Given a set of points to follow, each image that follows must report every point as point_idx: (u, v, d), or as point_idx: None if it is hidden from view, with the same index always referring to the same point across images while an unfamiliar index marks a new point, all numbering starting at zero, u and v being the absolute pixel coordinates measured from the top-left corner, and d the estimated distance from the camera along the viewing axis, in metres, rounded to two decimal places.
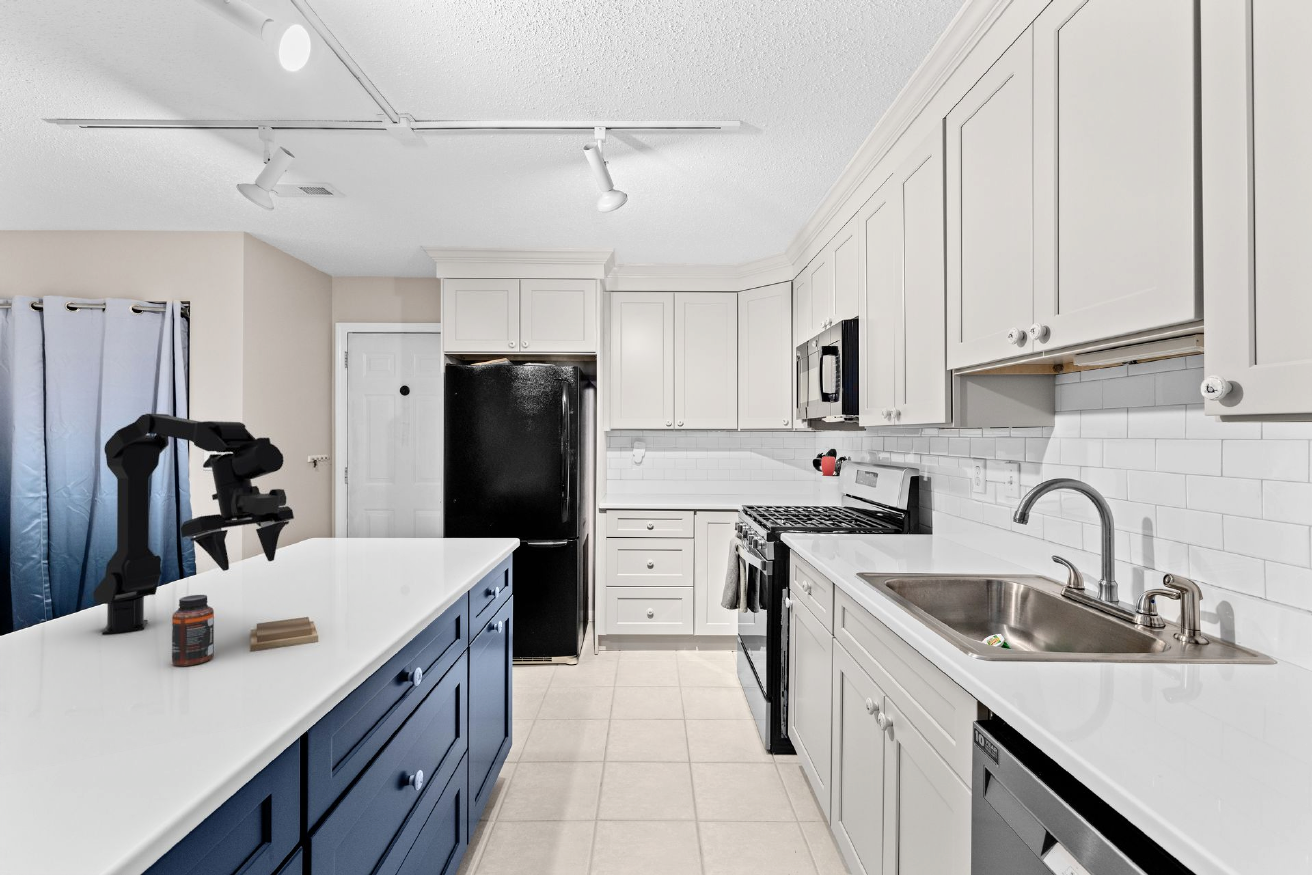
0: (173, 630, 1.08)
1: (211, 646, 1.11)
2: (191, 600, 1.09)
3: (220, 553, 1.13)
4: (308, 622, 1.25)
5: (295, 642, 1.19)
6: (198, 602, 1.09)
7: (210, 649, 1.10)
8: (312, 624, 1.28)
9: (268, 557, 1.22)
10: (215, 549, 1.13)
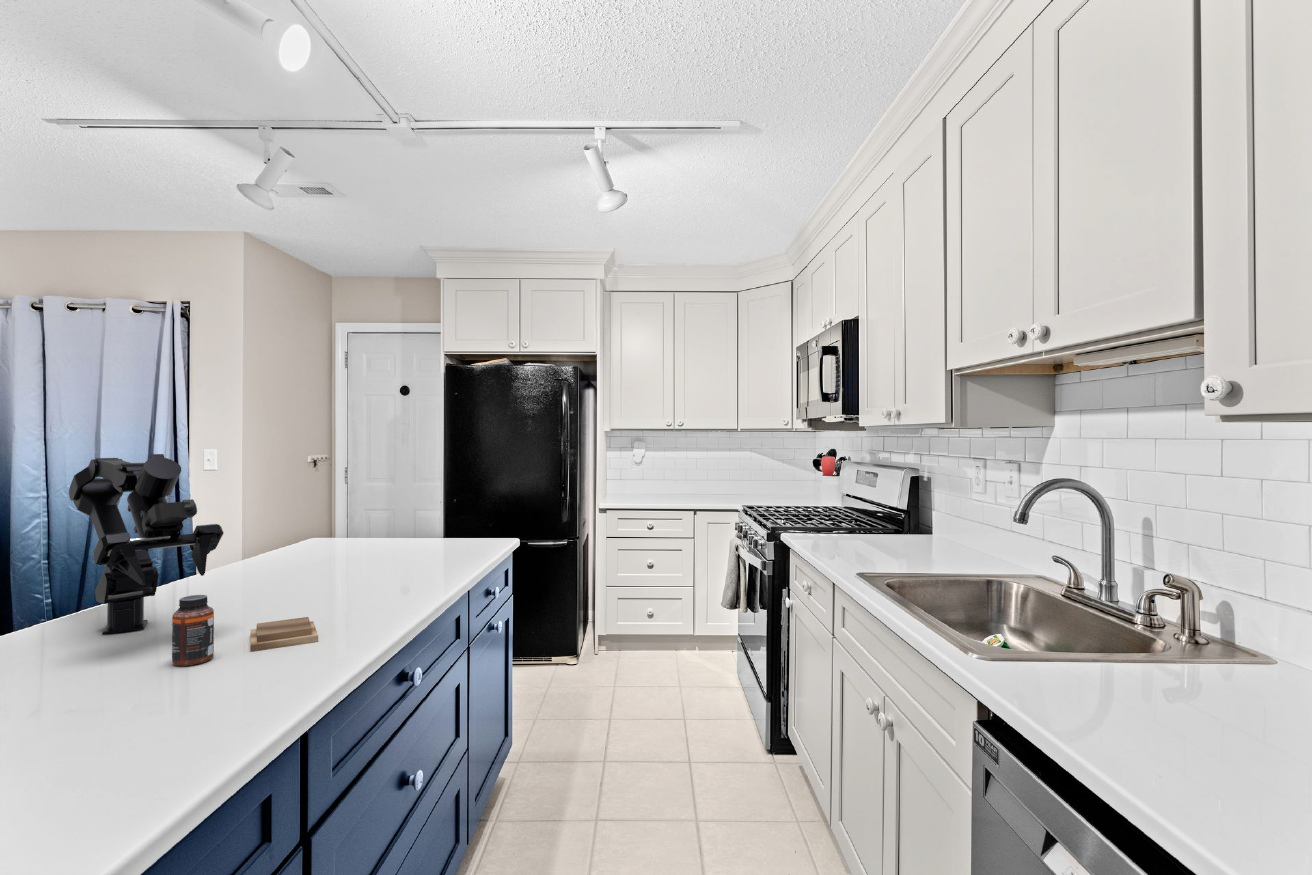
0: (173, 630, 1.08)
1: (211, 646, 1.11)
2: (191, 600, 1.09)
3: (132, 567, 1.11)
4: (308, 622, 1.25)
5: (295, 642, 1.19)
6: (198, 602, 1.09)
7: (210, 649, 1.10)
8: (312, 624, 1.28)
9: (200, 572, 1.19)
10: (129, 566, 1.12)
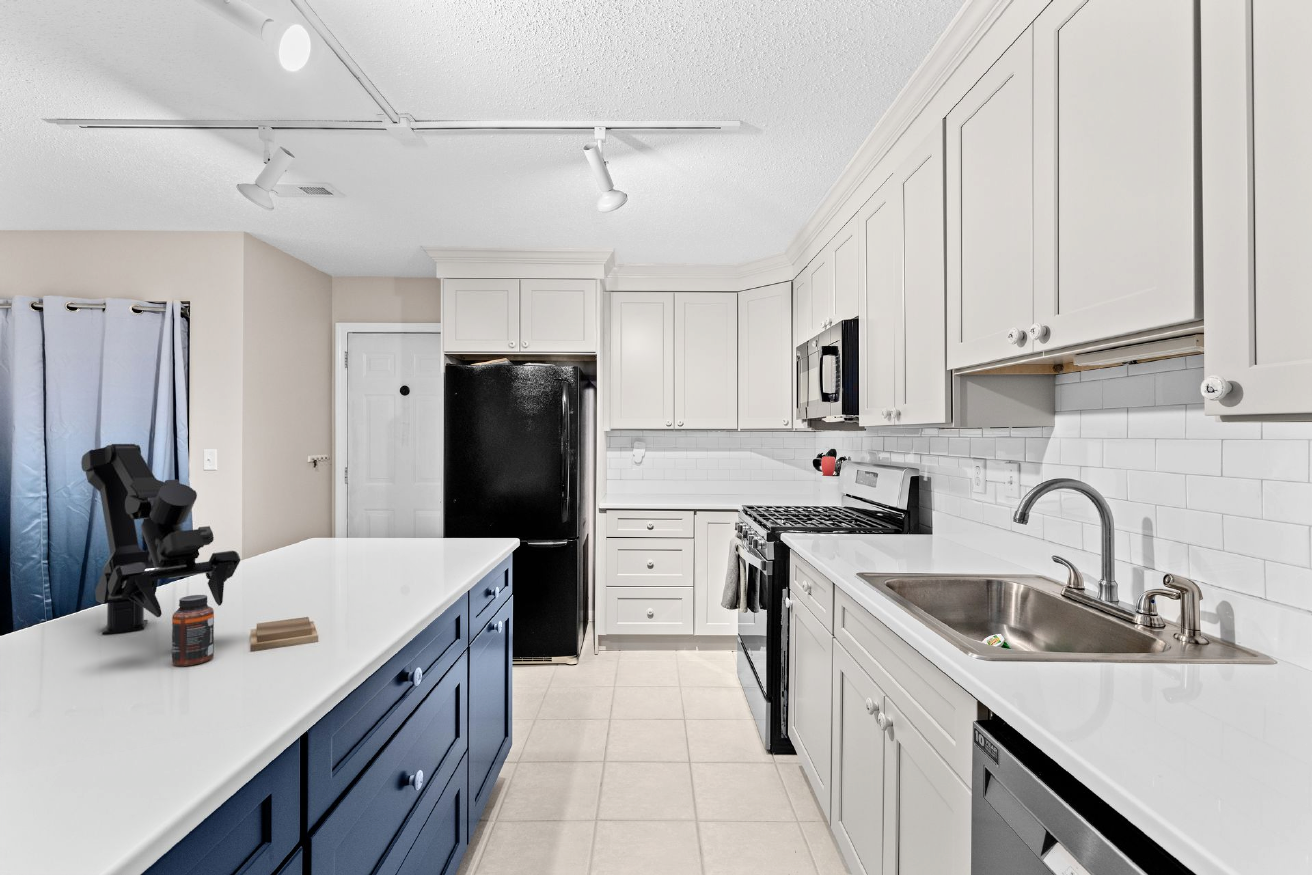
0: (173, 630, 1.08)
1: (211, 646, 1.11)
2: (191, 600, 1.09)
3: (148, 599, 1.07)
4: (308, 622, 1.25)
5: (295, 642, 1.19)
6: (198, 602, 1.09)
7: (210, 649, 1.10)
8: (312, 624, 1.28)
9: (217, 601, 1.15)
10: (144, 598, 1.08)
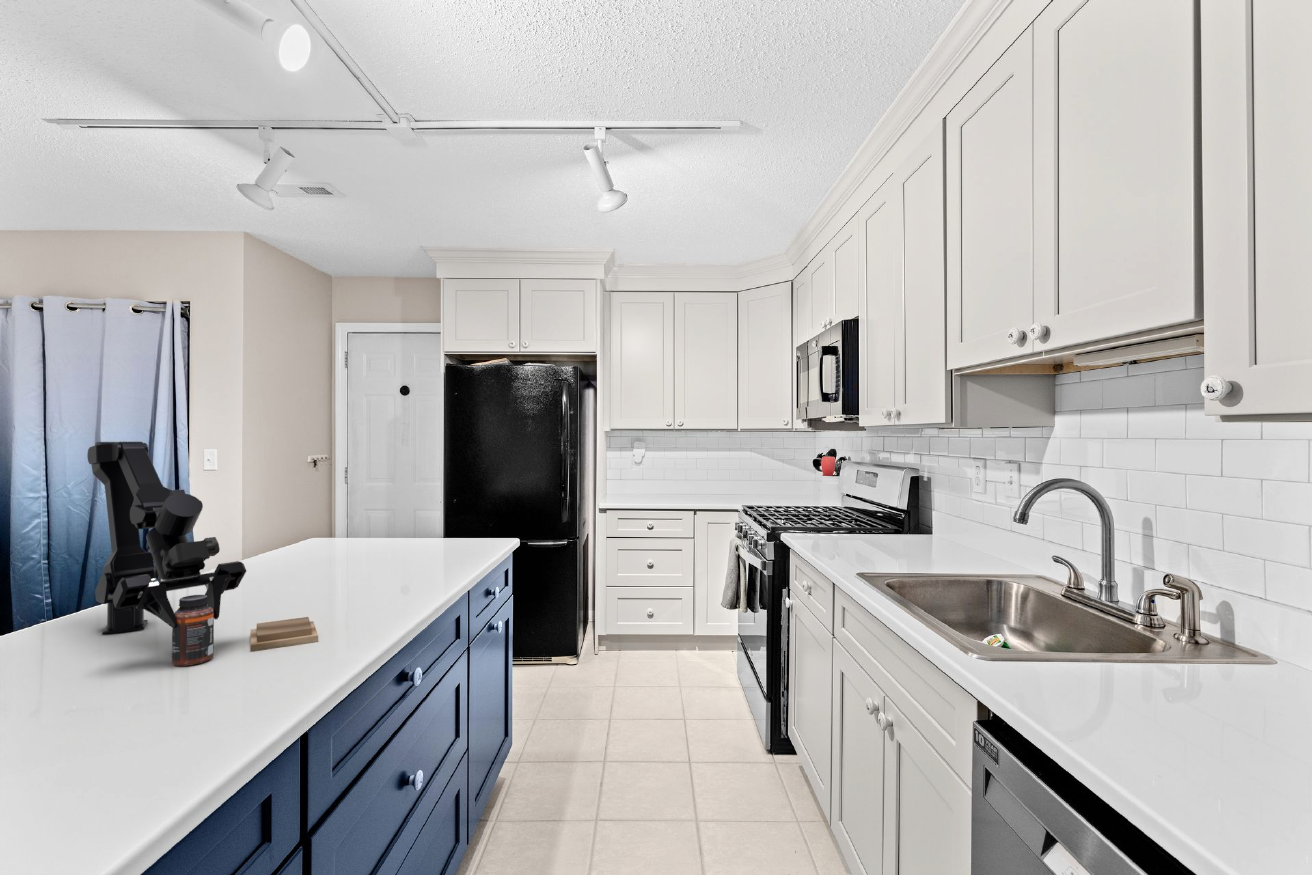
0: (173, 630, 1.08)
1: (211, 646, 1.11)
2: (191, 600, 1.09)
3: (164, 609, 1.07)
4: (308, 622, 1.25)
5: (295, 642, 1.19)
6: (198, 602, 1.09)
7: (210, 649, 1.10)
8: (312, 624, 1.28)
9: (214, 615, 1.12)
10: (160, 608, 1.08)
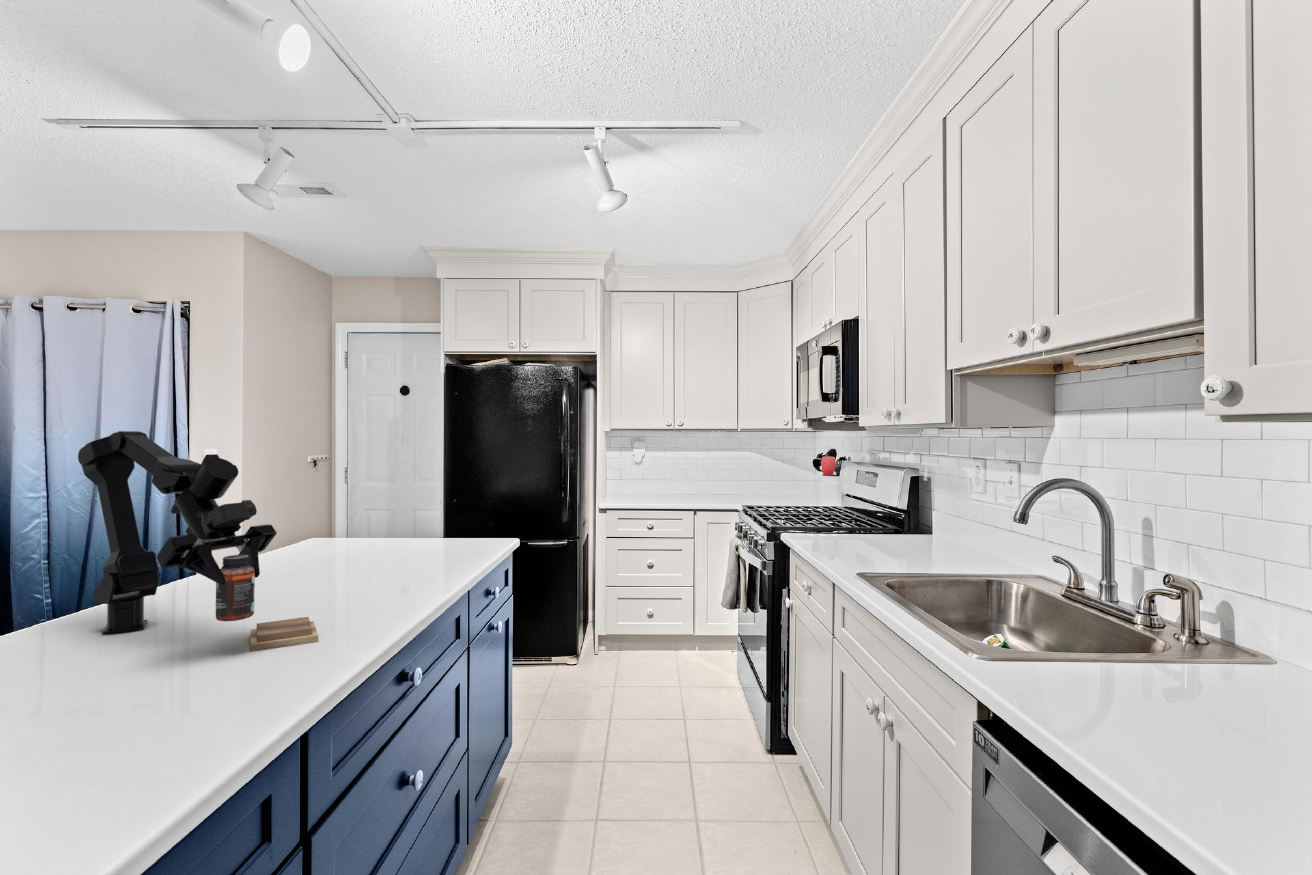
0: (219, 587, 1.12)
1: (253, 603, 1.16)
2: (237, 558, 1.14)
3: (211, 567, 1.11)
4: (308, 622, 1.25)
5: (295, 642, 1.19)
6: (243, 560, 1.14)
7: (252, 605, 1.16)
8: (312, 624, 1.28)
9: None
10: (206, 566, 1.12)
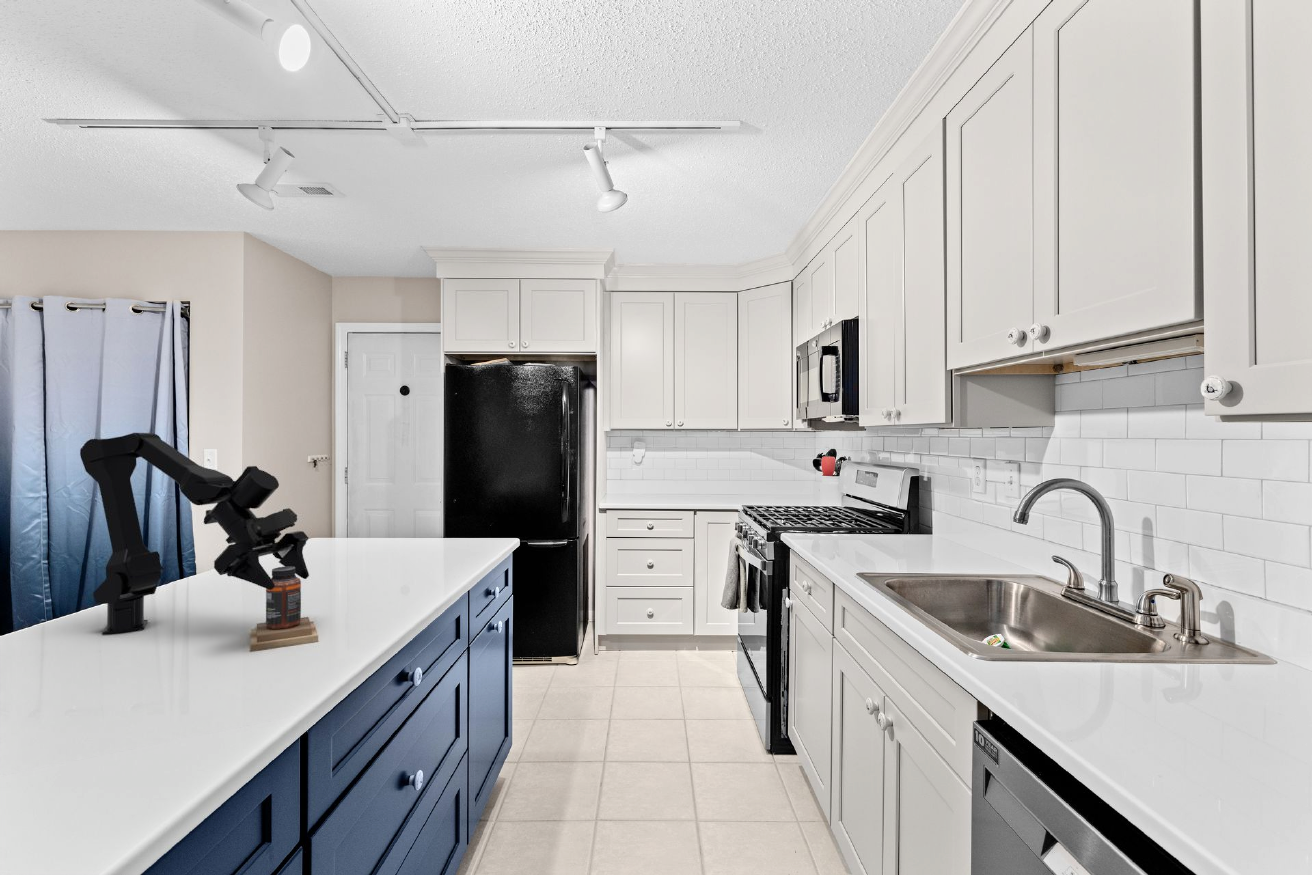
0: (272, 598, 1.20)
1: (300, 610, 1.25)
2: (288, 570, 1.22)
3: (261, 574, 1.17)
4: (308, 622, 1.25)
5: (295, 642, 1.19)
6: (292, 571, 1.23)
7: (300, 613, 1.24)
8: (312, 624, 1.28)
9: (303, 575, 1.27)
10: (254, 573, 1.17)
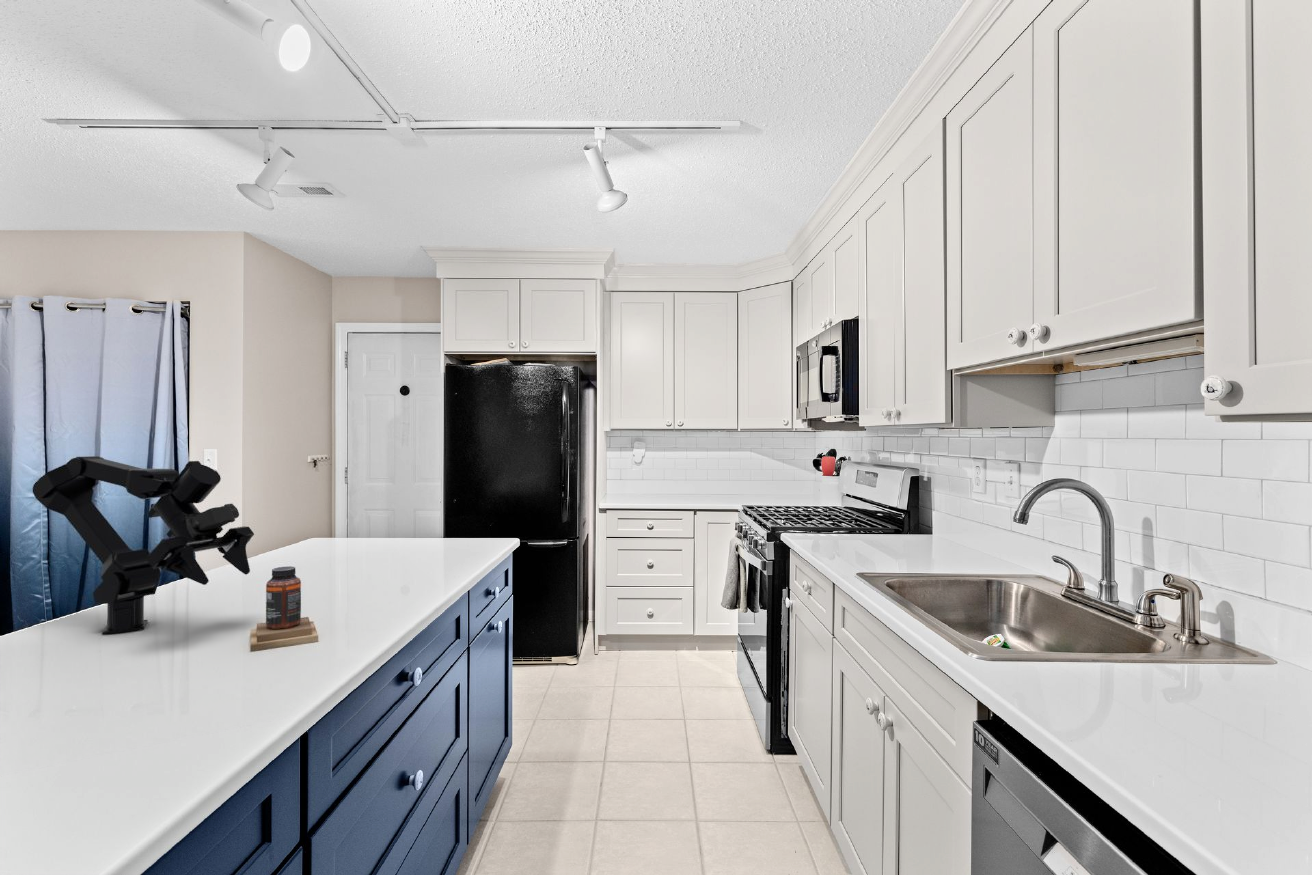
0: (272, 597, 1.20)
1: (300, 610, 1.25)
2: (288, 570, 1.22)
3: (194, 568, 1.18)
4: (308, 622, 1.25)
5: (295, 642, 1.19)
6: (292, 571, 1.23)
7: (300, 613, 1.24)
8: (312, 624, 1.28)
9: (244, 571, 1.27)
10: (188, 568, 1.18)
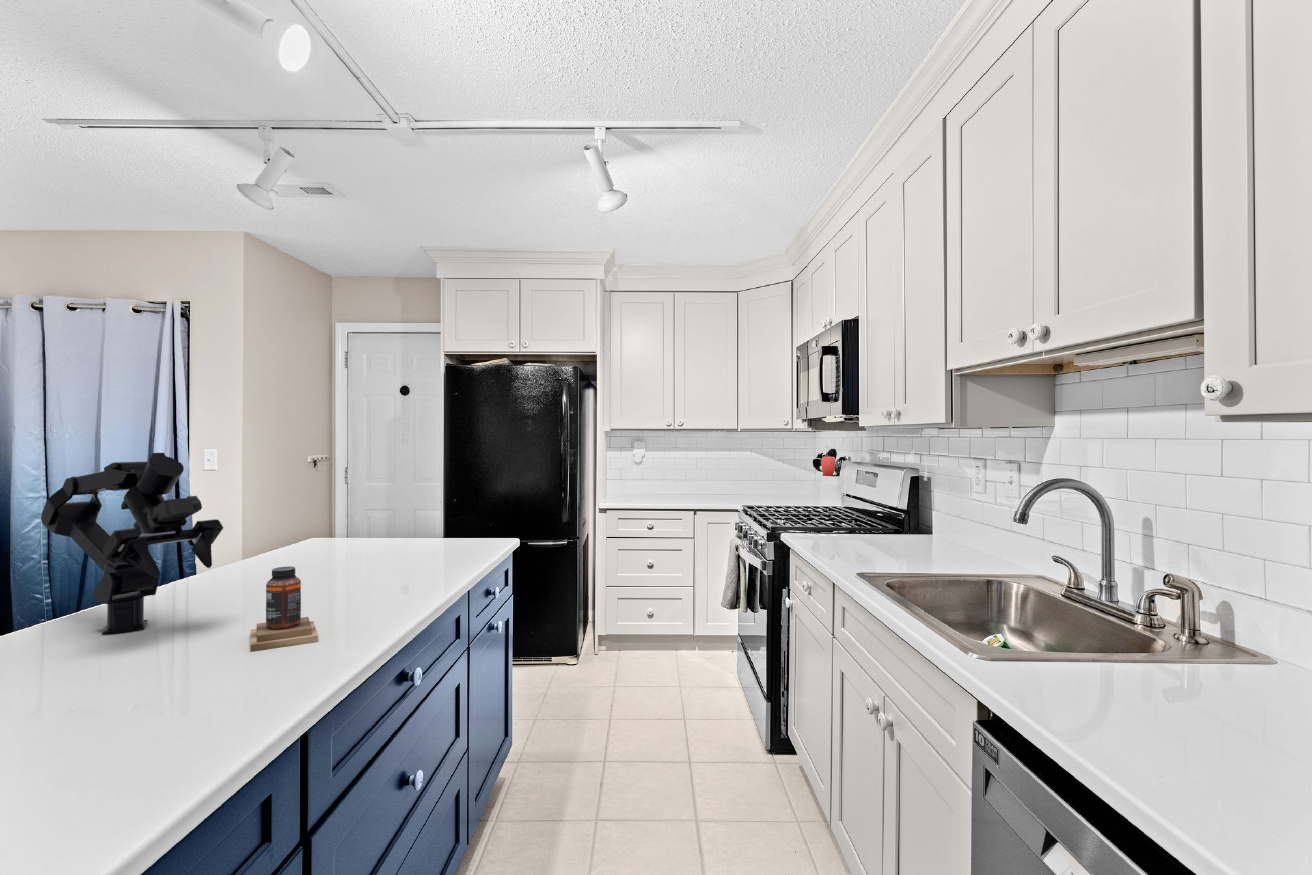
0: (272, 597, 1.20)
1: (300, 610, 1.25)
2: (288, 570, 1.22)
3: (146, 560, 1.16)
4: (308, 622, 1.25)
5: (295, 642, 1.19)
6: (292, 571, 1.23)
7: (300, 613, 1.24)
8: (312, 624, 1.28)
9: (206, 564, 1.25)
10: (141, 560, 1.16)
